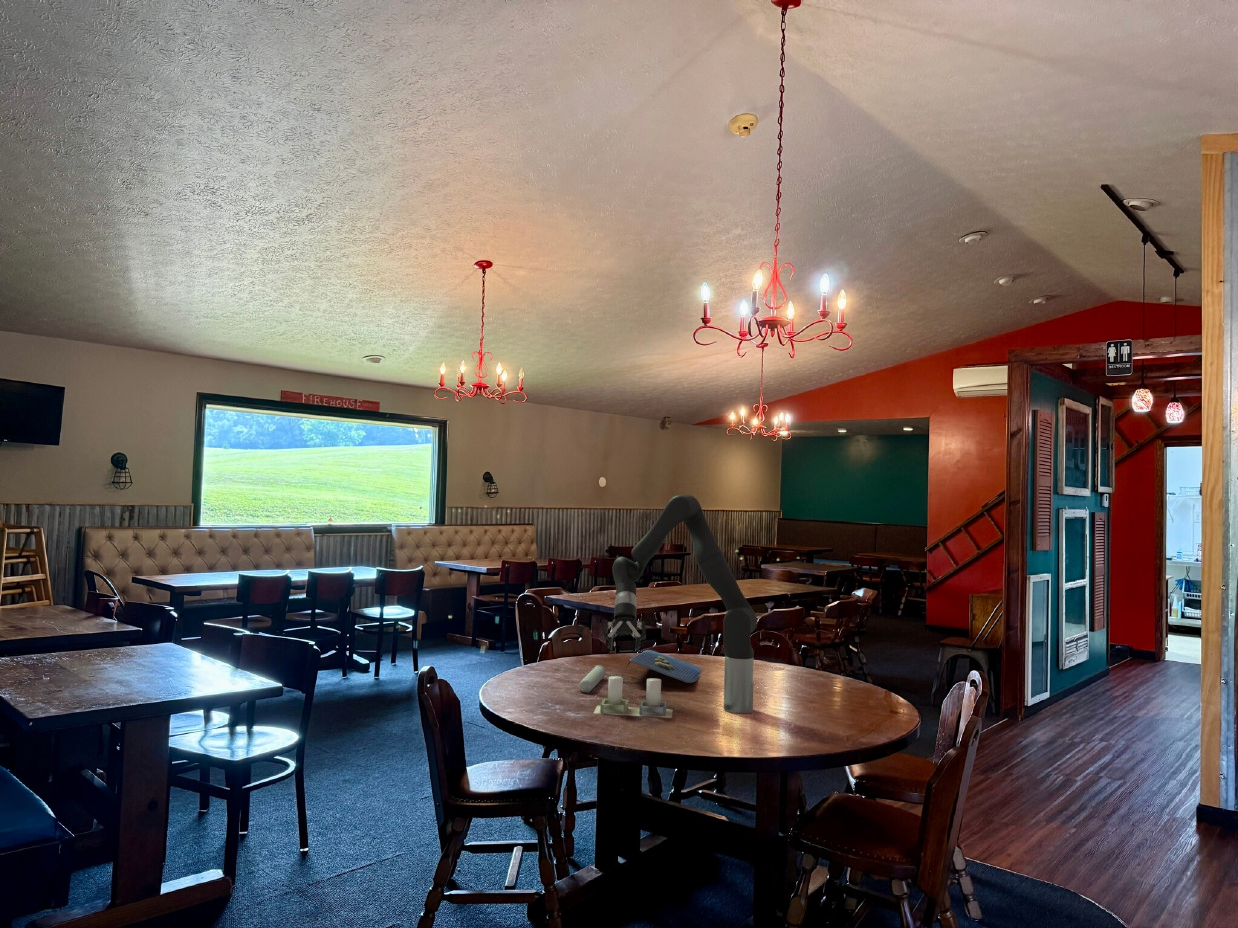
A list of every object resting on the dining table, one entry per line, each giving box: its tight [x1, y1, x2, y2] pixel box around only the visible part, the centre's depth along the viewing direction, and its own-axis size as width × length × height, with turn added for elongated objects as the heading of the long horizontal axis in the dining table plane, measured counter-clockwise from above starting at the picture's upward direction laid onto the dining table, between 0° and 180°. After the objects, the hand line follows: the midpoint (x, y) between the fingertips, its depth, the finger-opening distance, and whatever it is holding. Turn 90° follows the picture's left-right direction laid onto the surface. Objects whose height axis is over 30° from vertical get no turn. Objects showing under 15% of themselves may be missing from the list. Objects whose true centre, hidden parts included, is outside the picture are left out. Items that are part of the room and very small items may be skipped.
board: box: [593, 698, 674, 719], centre depth 251 cm, size 24×10×4 cm, turn 85°
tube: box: [578, 665, 607, 693], centre depth 292 cm, size 5×5×25 cm
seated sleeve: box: [645, 677, 662, 707], centre depth 251 cm, size 5×5×10 cm
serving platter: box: [621, 649, 702, 684], centre depth 313 cm, size 45×27×12 cm, turn 169°
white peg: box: [607, 675, 624, 705], centre depth 252 cm, size 5×5×10 cm
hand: (623, 649), depth 264 cm, fingers open, 8 cm apart
